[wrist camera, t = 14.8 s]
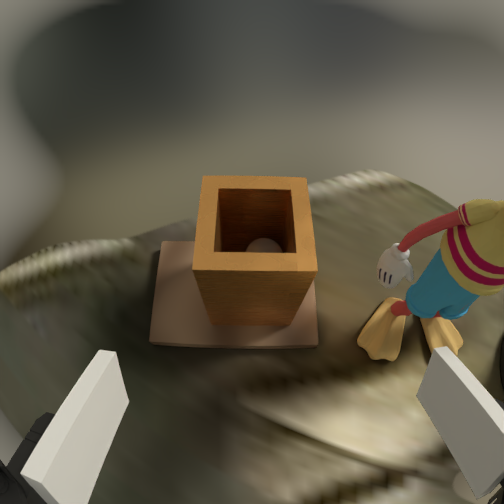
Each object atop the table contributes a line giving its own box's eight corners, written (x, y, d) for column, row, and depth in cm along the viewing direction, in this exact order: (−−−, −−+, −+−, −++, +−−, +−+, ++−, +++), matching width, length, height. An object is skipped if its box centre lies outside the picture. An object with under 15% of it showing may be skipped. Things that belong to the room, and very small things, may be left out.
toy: (350, 361, 28) (629, 124, 2) (351, 271, 33) (492, 0, 7) (462, 360, 28) (677, 220, 2) (454, 282, 33) (613, 106, 6)
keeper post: (307, 250, 34) (327, 192, 26) (315, 347, 29) (346, 318, 20) (165, 247, 34) (141, 190, 25) (153, 344, 29) (116, 313, 20)
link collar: (286, 256, 32) (306, 177, 22) (290, 325, 29) (317, 271, 18) (215, 255, 32) (202, 175, 22) (211, 324, 28) (192, 269, 18)
